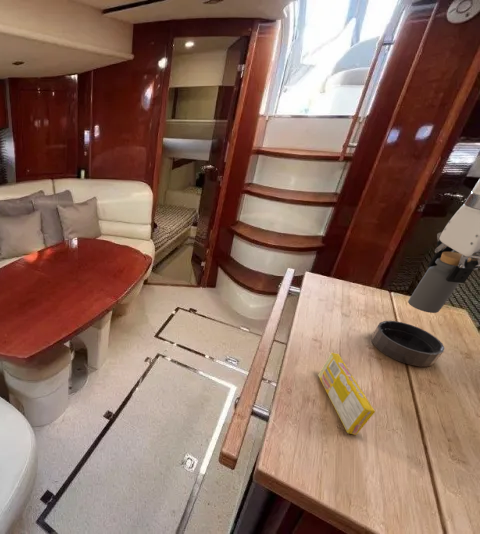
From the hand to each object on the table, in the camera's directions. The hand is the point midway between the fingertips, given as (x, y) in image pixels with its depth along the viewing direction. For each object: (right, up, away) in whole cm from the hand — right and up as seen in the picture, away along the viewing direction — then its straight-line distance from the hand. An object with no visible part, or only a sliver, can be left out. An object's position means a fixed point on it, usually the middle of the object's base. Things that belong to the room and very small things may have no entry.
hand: (444, 274), depth 75 cm
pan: (0, -22, +11) cm, 24 cm away
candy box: (-29, -30, -3) cm, 42 cm away
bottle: (0, -9, +5) cm, 10 cm away
